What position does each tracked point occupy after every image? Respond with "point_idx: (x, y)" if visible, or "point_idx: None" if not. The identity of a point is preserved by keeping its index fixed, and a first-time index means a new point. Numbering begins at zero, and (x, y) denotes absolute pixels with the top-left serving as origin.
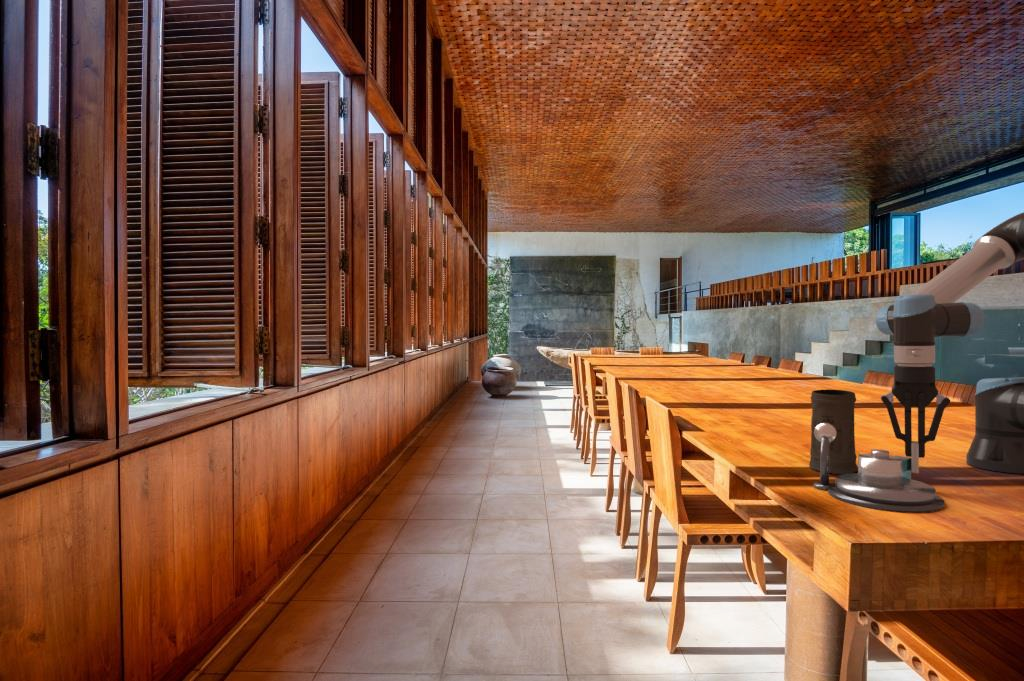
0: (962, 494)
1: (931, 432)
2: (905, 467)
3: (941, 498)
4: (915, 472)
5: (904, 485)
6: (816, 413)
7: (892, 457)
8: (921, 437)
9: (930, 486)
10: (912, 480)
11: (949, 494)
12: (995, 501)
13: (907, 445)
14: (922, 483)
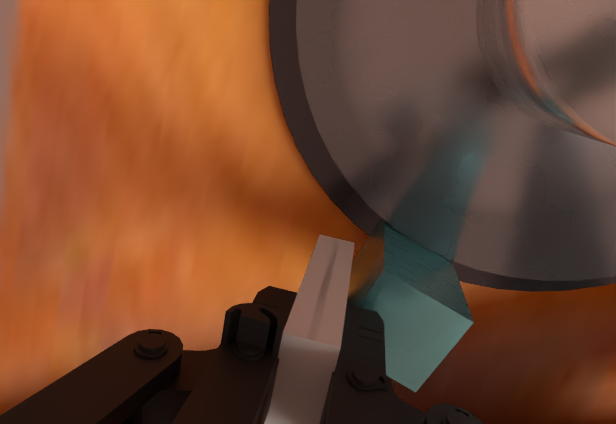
0: (162, 224)
1: (115, 391)
2: (389, 252)
3: (273, 29)
4: (335, 240)
5: (456, 15)
6: None
7: (607, 9)
8: (239, 373)
9: (307, 50)
10: (368, 174)
11: (211, 207)
12: (65, 146)
13: (367, 361)
14: (332, 116)
